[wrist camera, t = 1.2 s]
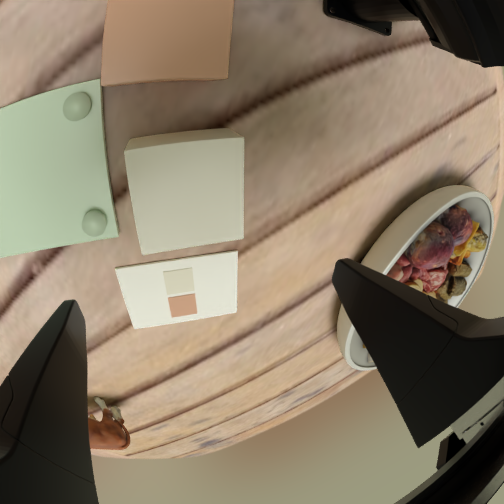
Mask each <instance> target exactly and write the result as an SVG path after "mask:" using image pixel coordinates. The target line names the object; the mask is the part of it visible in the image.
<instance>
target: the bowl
mask: <svg viewBox="0 0 504 504" xmlns="http://www.w3.org/2000/svg"><path fill="white" fill-rule="evenodd" d="M493 225H494V215H493V208H492V205H491V202H490V200H489V199H488V197H487V196H486V195H485V194H483V193H482V192H480V191H478V190H476V189H474V188H472V187H469V186H464V185H452V186H446V187H442V188H439V189H437V190H434V191H432V192H430V193H428V194H426V195H425V196H423V197H421V198H420V199H418V200H417V201H416V202H414V203H413V204H412V205H410V206H409V207H408V208H407V209H406V210H404V211H403V212H402V213H401V214H400V215H399V216H398V217H397V218H396V219H395V220H394V221H393V222H392V223H391V224H390V225H389V226H388V227H387V229H386V230H385V231H384V232H383V233H382V234H381V236H380V237H379V238H378V239H377V241H376V242H375V243H374V245H373V246H372V247H371V249H370V250H369V252H368V253H367V254H366V256H365V257H364V259H363V260H362V262H361V264H362V265H364V266H366V267H369V268H371V269H373V270H375V271H378V272H380V273H382V274H384V275H386V276H389V277H391V278H393V279H395V280H397V281H400V282H402V283H404V284H406V285H408V286H410V287H412V288H415V289H417V290H419V291H421V292H423V293H425V294H427V295H430V296H432V297H434V298H436V299H438V300H440V301H442V302H444V303H447V304H449V305H451V306H454V307H456V308H457V307H458V306H459V305H460V304H461V302H462V301H463V299H464V298H465V296H466V295H467V293H468V292H469V290H470V289H471V287H472V285H473V284H474V282H475V280H476V278H477V276H478V274H479V272H480V270H481V268H482V266H483V264H484V261H485V259H486V256H487V253H488V250H489V247H490V243H491V239H492V234H493ZM337 339H338V344H339V348H340V351H341V353H342V355H343V357H344V359H345V360H346V362H347V363H348V365H349V366H351V367H352V368H354V369H357V370H373V369H377V367H376V365H375V364H374V362H373V360H372V358H371V356H370V355H369V353H368V351H367V349H366V347H365V346H364V344H363V342H362V340H361V339H360V337H359V335H358V333H357V332H356V330H355V328H354V326H353V325H352V323H351V321H350V319H349V317H348V316H347V313H346V311H345V309H344V307H343V305H342V304H341V308H340V312H339V316H338V323H337Z"/></svg>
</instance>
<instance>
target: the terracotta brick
mask: <svg viewBox="0 0 504 504" xmlns="http://www.w3.org/2000/svg"><path fill="white" fill-rule="evenodd" d="M233 10H234V0H108V3H107V10H106V17H105V25H104V35H103V47H102V64H101V86H110V87H113V86H121V85H129V84H139V83H150V82H165V81H214V80H222V79H228V68H229V55H230V43H231V31H232V20H233Z"/></svg>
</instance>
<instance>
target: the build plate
mask: <svg viewBox="0 0 504 504" xmlns="http://www.w3.org/2000/svg"><path fill="white" fill-rule="evenodd" d="M114 237H119V228H118V223H117V218H116V213H115V207H114V202H113V196H112V190H111V183H110V176H109V169H108V161H107V152H106V143H105V132H104V118H103V99H102V86H101V79H96V80H91V81H87V82H82V83H78V84H74V85H70V86H66V87H62V88H59V89H55V90H52V91H48V92H45V93H42V94H39V95H36V96H33V97H30V98H27V99H24V100H21V101H19V102H16V103H13V104H11V105H8V106H6V107H3V108H1V109H0V258H2V257H7V256H12V255H17V254H22V253H28V252H33V251H38V250H44V249H49V248H55V247H60V246H66V245H72V244H77V243H83V242H89V241H95V240H101V239H108V238H114Z"/></svg>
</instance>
